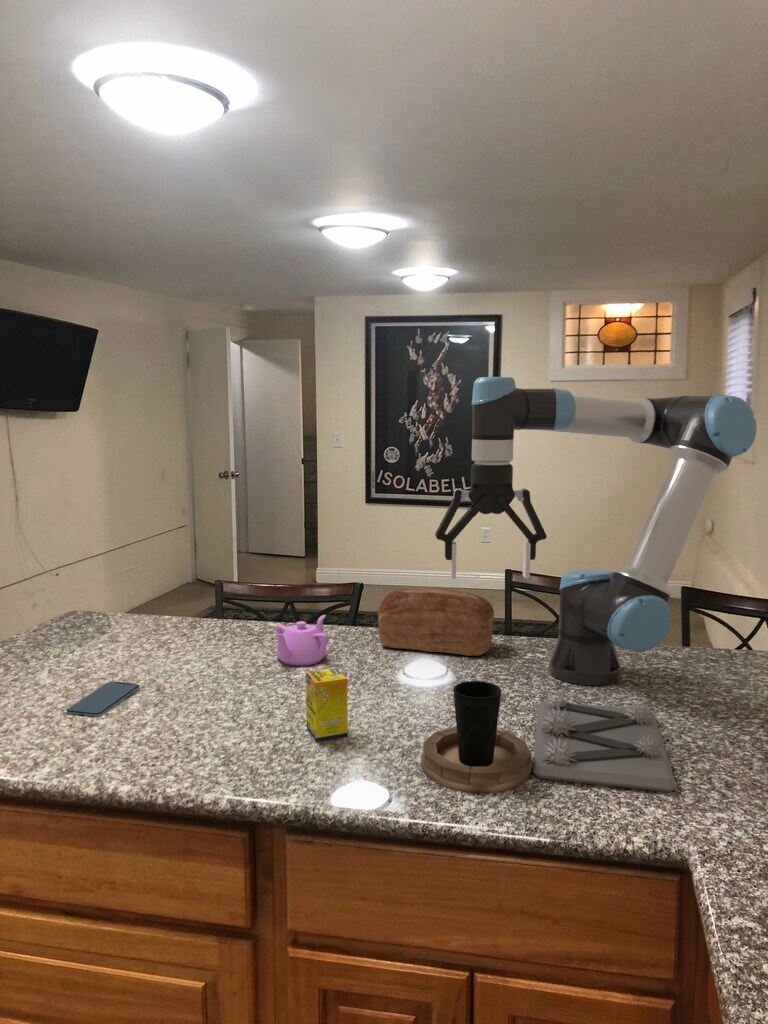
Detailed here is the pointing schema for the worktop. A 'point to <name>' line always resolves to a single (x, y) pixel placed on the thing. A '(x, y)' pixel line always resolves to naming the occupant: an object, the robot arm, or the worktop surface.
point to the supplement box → (326, 704)
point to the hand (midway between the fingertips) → (489, 577)
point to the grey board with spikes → (601, 746)
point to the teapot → (301, 643)
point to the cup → (476, 721)
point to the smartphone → (103, 699)
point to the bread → (436, 621)
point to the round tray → (499, 776)
